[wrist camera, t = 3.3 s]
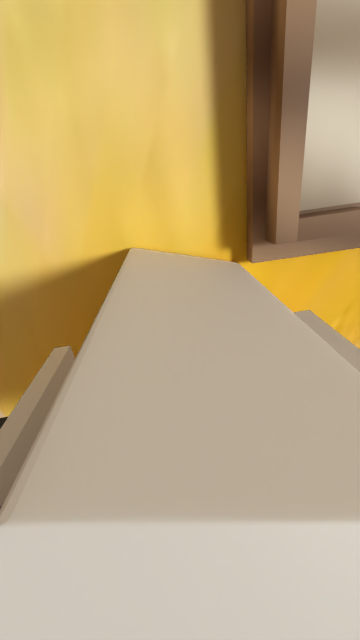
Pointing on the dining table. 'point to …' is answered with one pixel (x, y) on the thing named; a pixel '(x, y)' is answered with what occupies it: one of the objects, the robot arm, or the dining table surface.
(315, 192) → the brown picture frame
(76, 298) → the dining table surface
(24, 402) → the robot arm
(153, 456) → the milk carton
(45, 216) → the dining table surface
